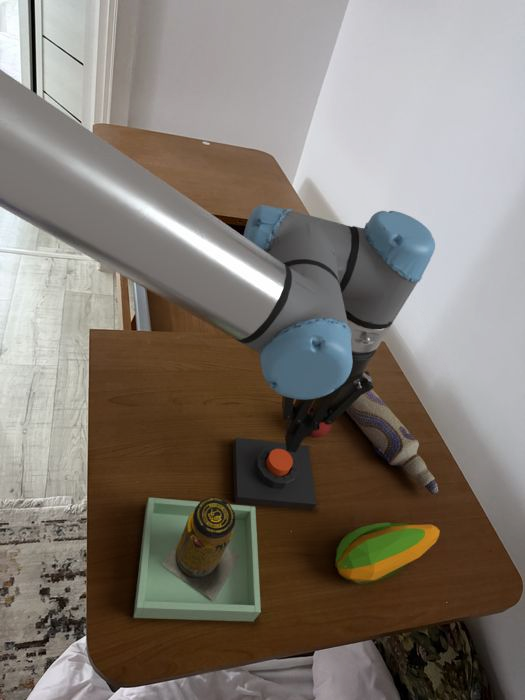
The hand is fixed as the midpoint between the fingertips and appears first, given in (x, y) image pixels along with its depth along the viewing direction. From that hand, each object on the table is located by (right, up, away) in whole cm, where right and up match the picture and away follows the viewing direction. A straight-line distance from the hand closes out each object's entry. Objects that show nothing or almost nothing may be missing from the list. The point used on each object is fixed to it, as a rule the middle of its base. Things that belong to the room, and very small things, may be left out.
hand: (290, 444), depth 77 cm
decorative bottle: (+17, -3, +18) cm, 25 cm away
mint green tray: (-13, -15, -7) cm, 22 cm away
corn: (+14, -18, +2) cm, 23 cm away
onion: (+4, -1, +15) cm, 16 cm away
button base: (-3, -7, +6) cm, 10 cm away
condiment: (-13, -15, -7) cm, 21 cm away
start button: (-2, -4, +4) cm, 6 cm away
